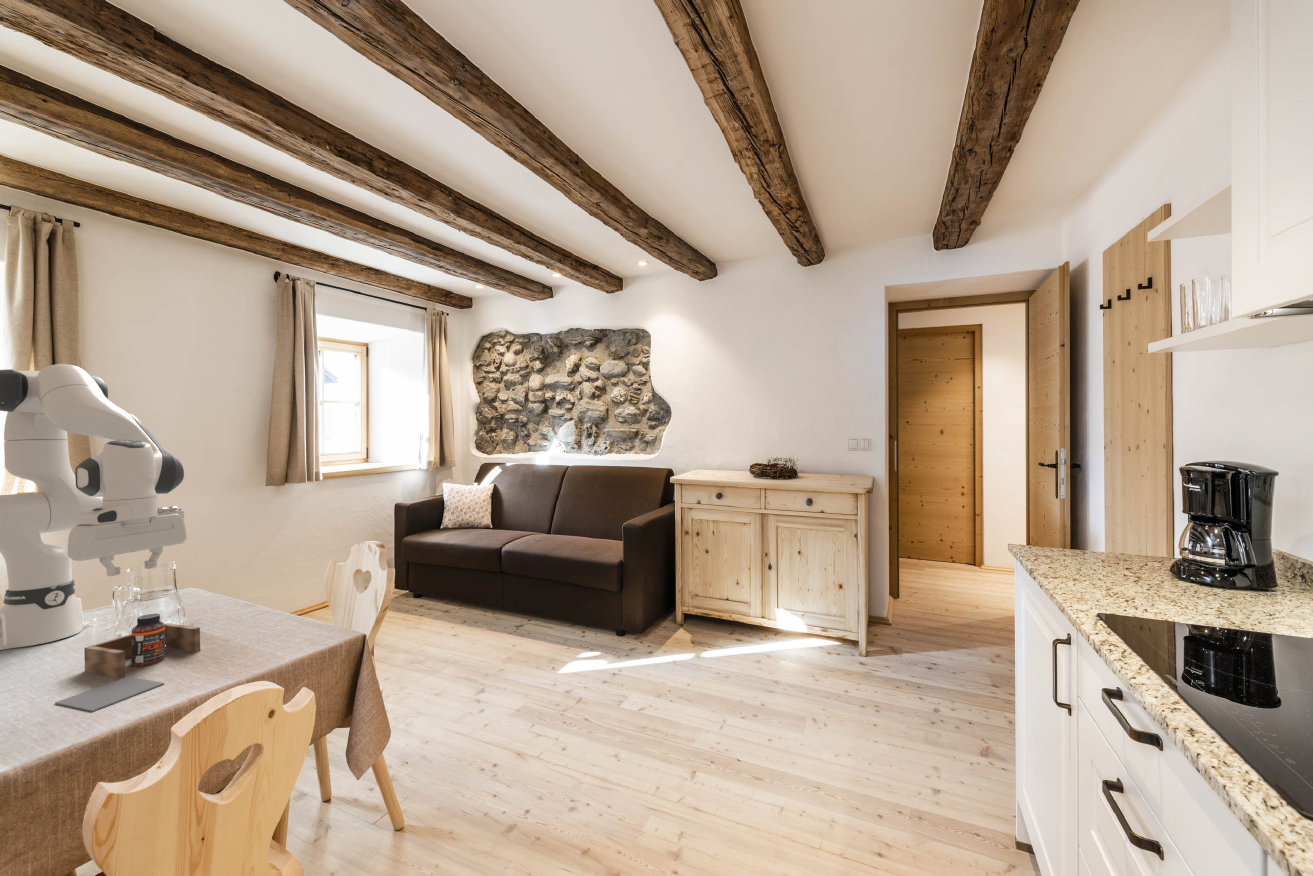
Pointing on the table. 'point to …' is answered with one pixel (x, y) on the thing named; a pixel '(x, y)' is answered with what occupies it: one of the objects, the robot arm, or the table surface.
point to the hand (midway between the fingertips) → (132, 571)
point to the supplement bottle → (148, 640)
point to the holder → (114, 652)
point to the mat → (109, 694)
